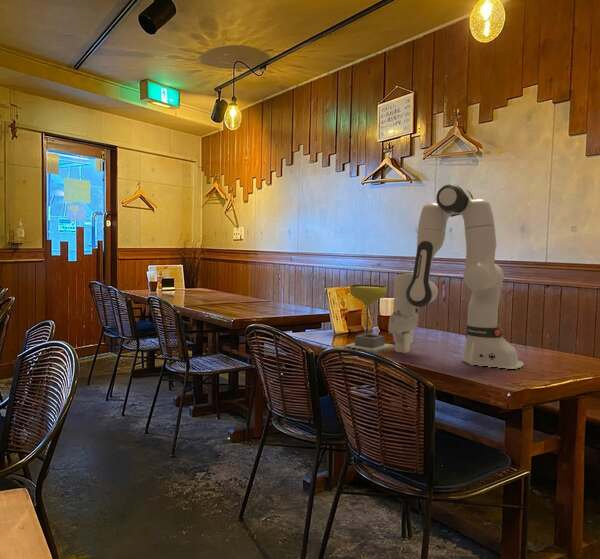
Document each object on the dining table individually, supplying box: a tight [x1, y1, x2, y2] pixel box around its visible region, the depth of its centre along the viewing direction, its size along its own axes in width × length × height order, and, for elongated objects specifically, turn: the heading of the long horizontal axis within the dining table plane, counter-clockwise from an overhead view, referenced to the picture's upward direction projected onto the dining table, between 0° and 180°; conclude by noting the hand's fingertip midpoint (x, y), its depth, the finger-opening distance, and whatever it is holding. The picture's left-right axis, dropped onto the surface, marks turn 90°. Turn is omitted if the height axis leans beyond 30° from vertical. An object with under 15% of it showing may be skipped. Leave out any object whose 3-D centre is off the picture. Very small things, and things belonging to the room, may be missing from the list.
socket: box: [344, 333, 395, 353], centre depth 220 cm, size 16×16×5 cm
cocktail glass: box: [349, 284, 387, 336], centre depth 248 cm, size 18×18×25 cm
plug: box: [394, 332, 411, 354], centre depth 212 cm, size 4×4×9 cm
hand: (402, 341), depth 212 cm, fingers closed on plug, 4 cm apart
